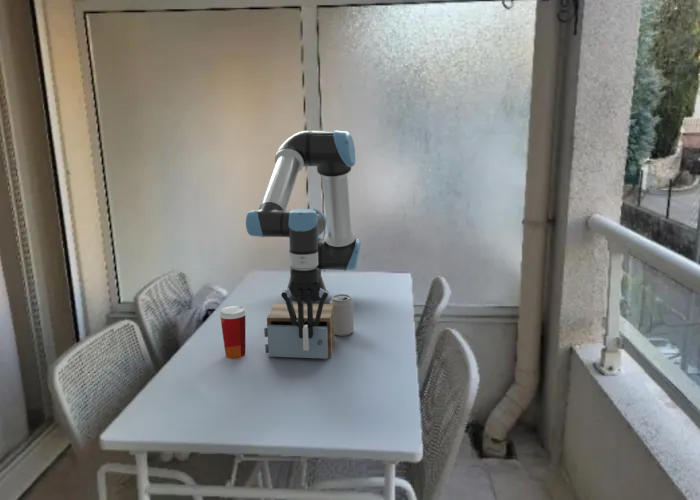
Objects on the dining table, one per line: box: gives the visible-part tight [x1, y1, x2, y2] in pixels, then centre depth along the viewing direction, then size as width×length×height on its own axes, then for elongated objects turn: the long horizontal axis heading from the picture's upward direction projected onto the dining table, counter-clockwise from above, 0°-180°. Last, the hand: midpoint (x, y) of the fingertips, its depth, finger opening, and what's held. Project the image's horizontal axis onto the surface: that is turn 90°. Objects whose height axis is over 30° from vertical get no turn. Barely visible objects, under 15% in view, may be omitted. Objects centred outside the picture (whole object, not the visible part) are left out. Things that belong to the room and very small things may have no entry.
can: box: [329, 293, 355, 337], centre depth 180 cm, size 8×8×12 cm
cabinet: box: [266, 303, 335, 359], centre depth 168 cm, size 12×18×12 cm, turn 87°
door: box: [264, 325, 328, 360], centre depth 160 cm, size 3×18×9 cm, turn 83°
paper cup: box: [218, 305, 247, 360], centre depth 164 cm, size 8×8×14 cm
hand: (306, 348), depth 158 cm, fingers closed
